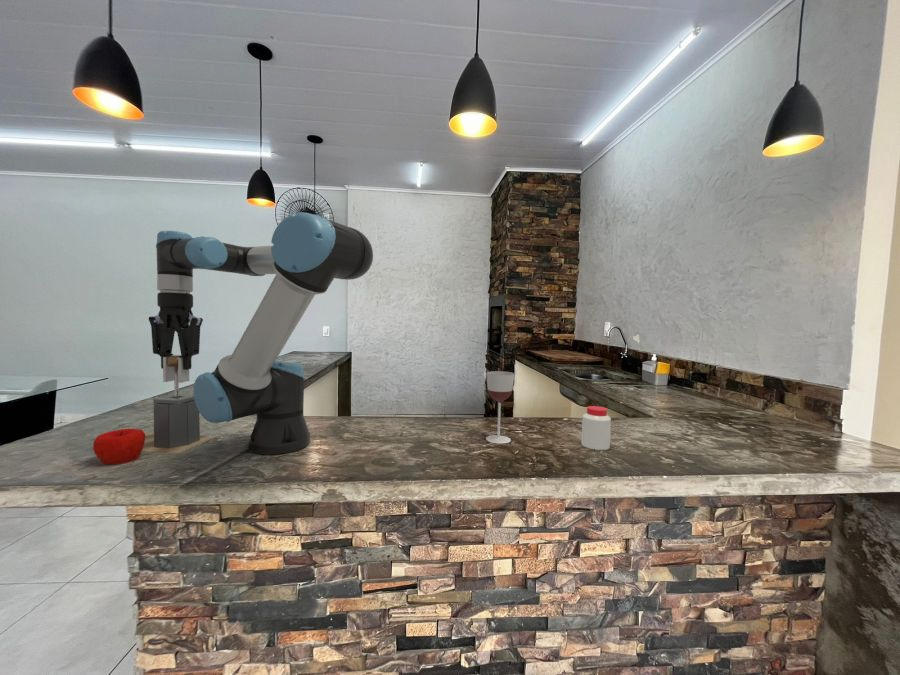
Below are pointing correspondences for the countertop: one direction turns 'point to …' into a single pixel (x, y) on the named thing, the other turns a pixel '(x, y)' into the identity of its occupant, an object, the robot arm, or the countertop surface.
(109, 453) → the apple
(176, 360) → the plunger
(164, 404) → the gray octagonal holder
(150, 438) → the board
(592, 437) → the pill bottle
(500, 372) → the wineglass
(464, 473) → the countertop surface
